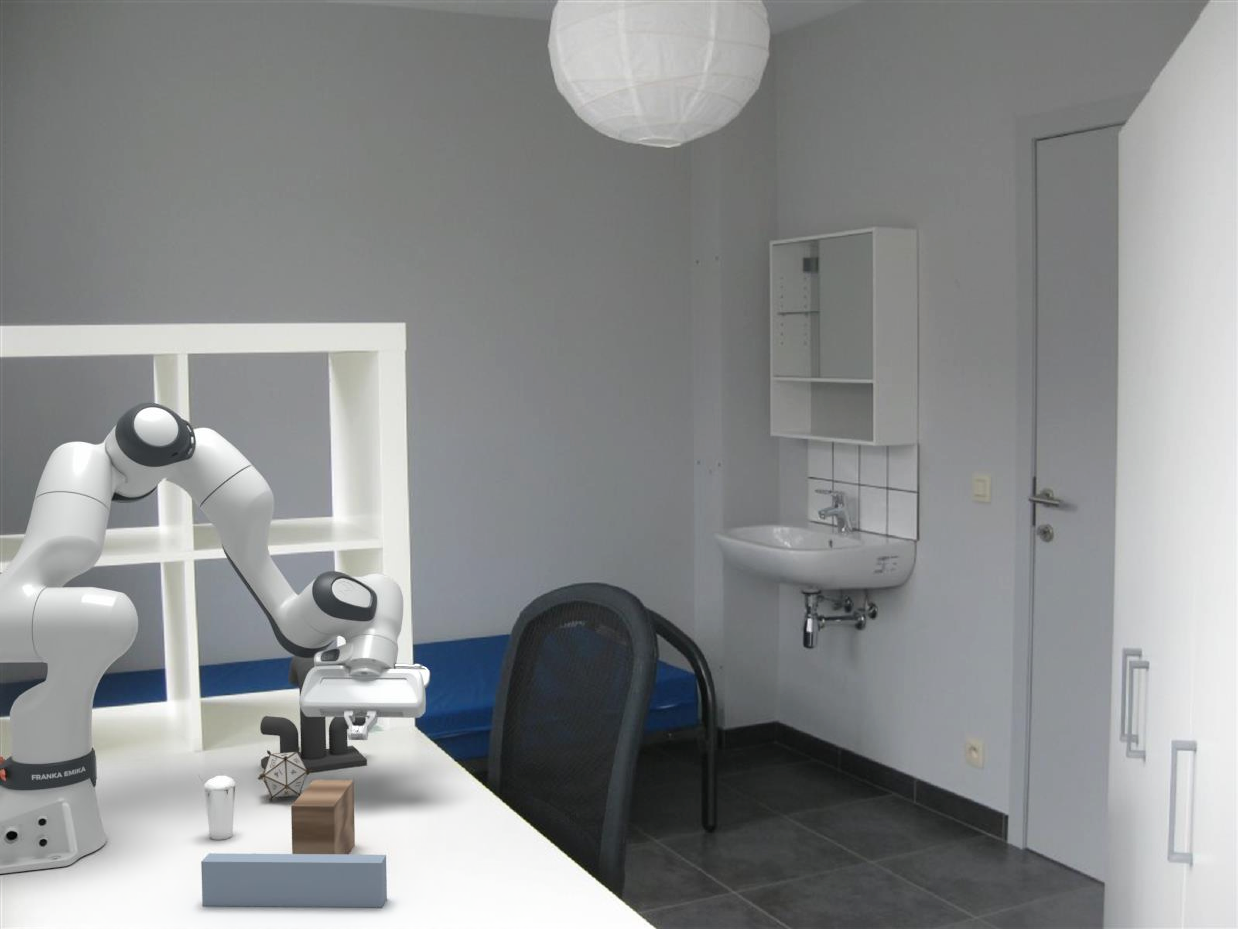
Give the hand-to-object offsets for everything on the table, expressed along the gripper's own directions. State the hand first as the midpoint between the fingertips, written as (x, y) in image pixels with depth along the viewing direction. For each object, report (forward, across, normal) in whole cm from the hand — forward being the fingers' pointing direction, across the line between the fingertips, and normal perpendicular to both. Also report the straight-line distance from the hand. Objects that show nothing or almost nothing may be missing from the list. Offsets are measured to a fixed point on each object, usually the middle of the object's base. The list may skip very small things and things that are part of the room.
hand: (357, 738), depth 214 cm
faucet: (-11, +15, -29) cm, 34 cm away
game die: (+4, +14, -14) cm, 20 cm away
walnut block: (+23, 0, +6) cm, 24 cm away
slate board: (+34, +1, +18) cm, 38 cm away
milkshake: (+17, +19, 0) cm, 25 cm away
